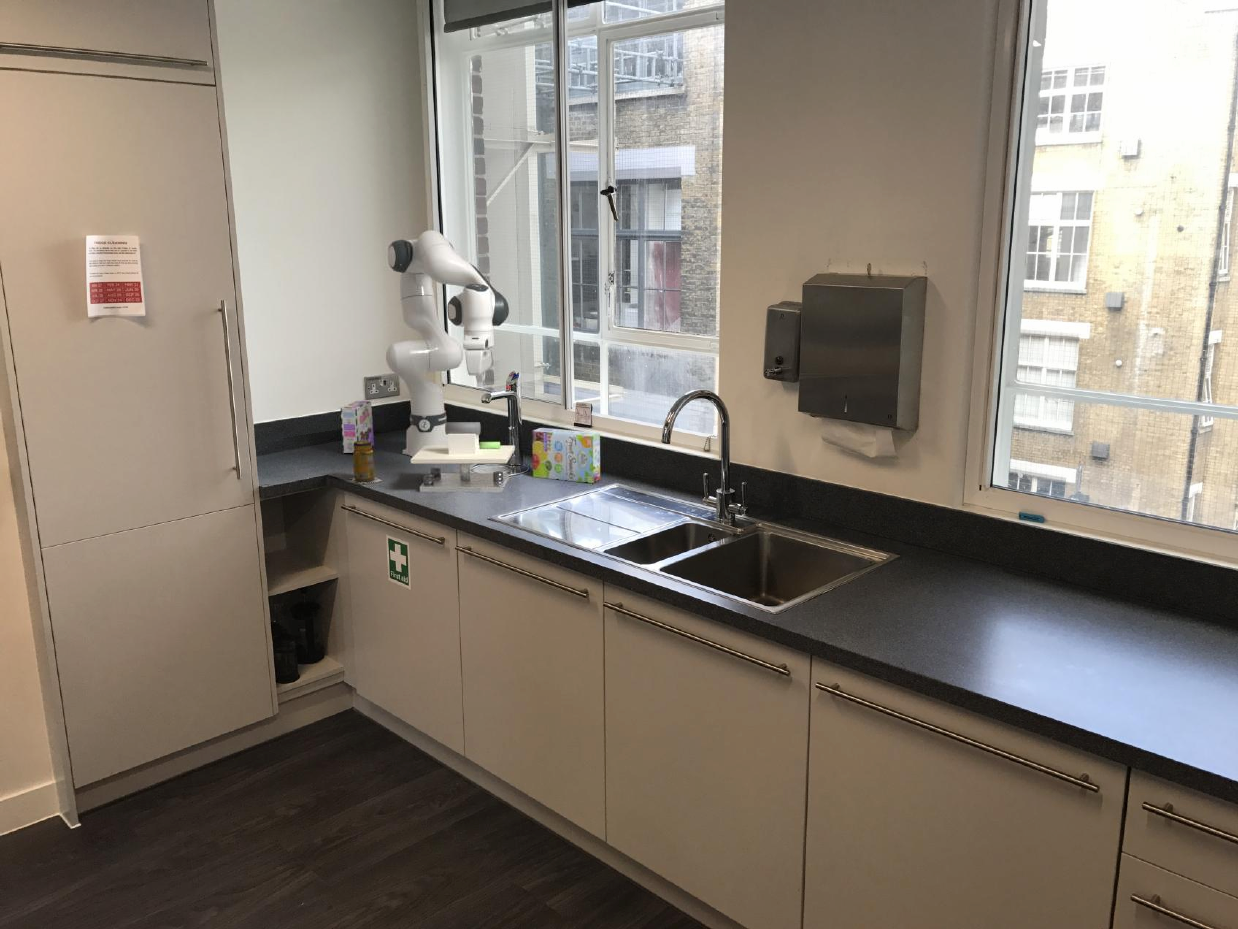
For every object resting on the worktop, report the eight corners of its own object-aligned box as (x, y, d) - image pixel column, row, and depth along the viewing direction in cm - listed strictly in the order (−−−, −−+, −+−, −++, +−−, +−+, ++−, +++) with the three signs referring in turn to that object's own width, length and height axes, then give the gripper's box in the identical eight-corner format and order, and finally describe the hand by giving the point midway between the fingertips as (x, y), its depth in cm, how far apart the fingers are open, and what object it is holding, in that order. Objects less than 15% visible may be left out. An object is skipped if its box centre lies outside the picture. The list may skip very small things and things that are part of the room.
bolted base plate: (420, 491, 297) (418, 465, 295) (431, 478, 313) (430, 453, 311) (500, 492, 296) (500, 466, 294) (508, 478, 312) (508, 453, 310)
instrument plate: (410, 463, 294) (408, 428, 292) (424, 449, 312) (422, 416, 309) (506, 463, 293) (504, 428, 291) (514, 449, 311) (513, 416, 308)
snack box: (601, 480, 310) (600, 432, 306) (593, 484, 305) (592, 435, 301) (540, 473, 319) (539, 426, 315) (532, 477, 314) (530, 429, 310)
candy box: (359, 454, 344) (355, 407, 340) (342, 454, 345) (339, 406, 341) (374, 446, 357) (371, 400, 353) (359, 445, 358) (356, 399, 354)
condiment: (370, 476, 316) (367, 438, 313) (382, 481, 310) (380, 443, 307) (348, 479, 312) (345, 441, 309) (360, 485, 305) (357, 446, 302)
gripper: (475, 336, 309) (476, 381, 312) (461, 344, 289) (463, 391, 292) (495, 336, 308) (497, 381, 311) (483, 344, 288) (485, 391, 292)
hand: (480, 386), depth 301 cm, fingers closed
